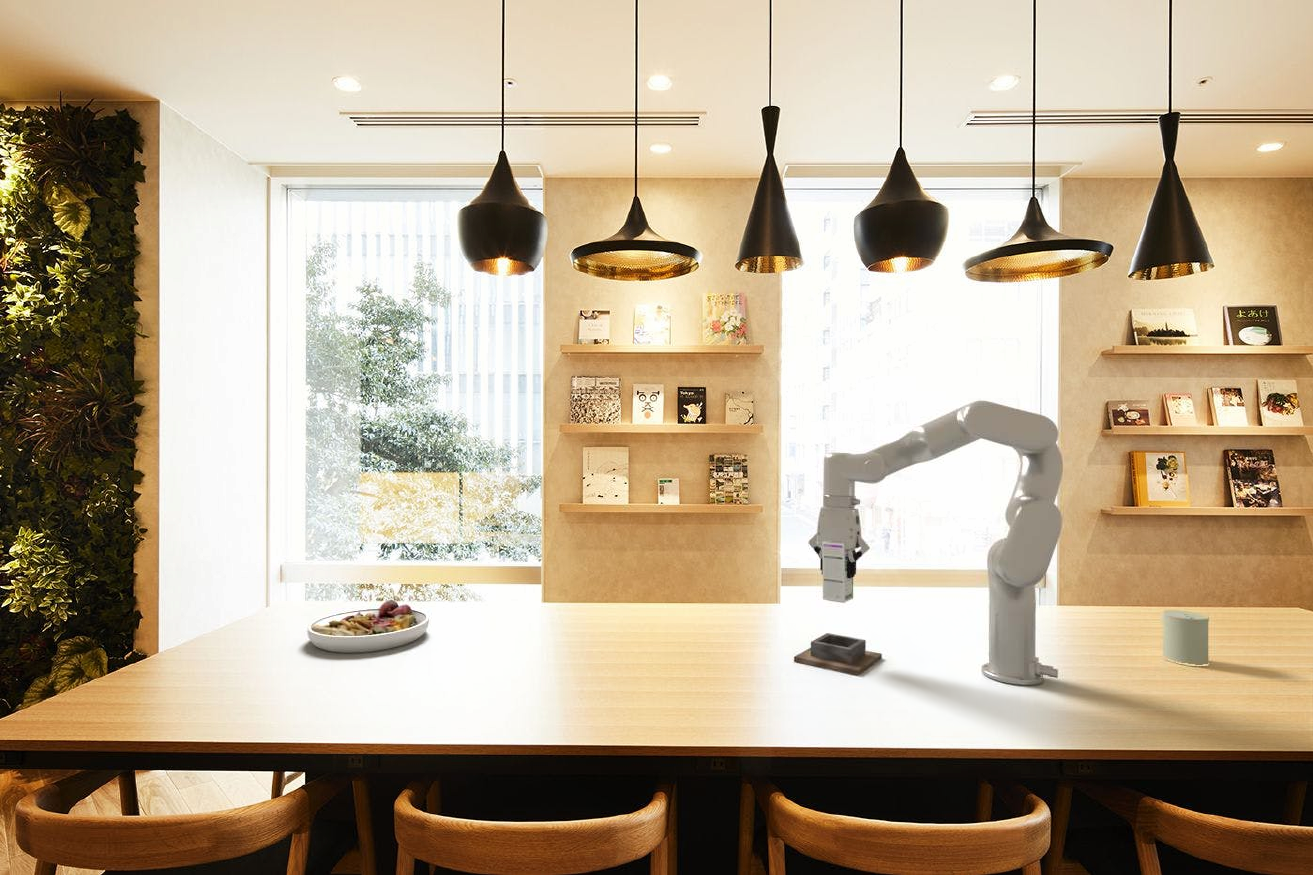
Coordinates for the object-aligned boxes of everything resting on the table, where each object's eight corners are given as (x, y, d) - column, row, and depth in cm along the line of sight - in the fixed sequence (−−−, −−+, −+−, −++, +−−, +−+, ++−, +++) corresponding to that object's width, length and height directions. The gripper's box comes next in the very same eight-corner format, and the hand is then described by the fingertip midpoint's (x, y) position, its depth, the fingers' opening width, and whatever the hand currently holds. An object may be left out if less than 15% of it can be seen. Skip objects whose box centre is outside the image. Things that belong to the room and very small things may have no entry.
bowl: (403, 657, 165) (404, 625, 165) (283, 656, 166) (283, 624, 166) (443, 625, 195) (444, 598, 195) (341, 624, 196) (341, 597, 196)
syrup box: (844, 603, 161) (845, 543, 162) (821, 599, 165) (822, 540, 165) (853, 599, 166) (854, 540, 166) (830, 595, 170) (831, 538, 170)
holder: (881, 658, 167) (881, 639, 167) (858, 675, 154) (858, 655, 154) (821, 646, 176) (821, 628, 176) (794, 661, 164) (794, 642, 164)
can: (1166, 663, 165) (1166, 614, 165) (1158, 653, 173) (1158, 606, 173) (1213, 669, 161) (1213, 619, 161) (1203, 658, 169) (1203, 611, 169)
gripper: (878, 504, 163) (877, 578, 163) (812, 499, 174) (811, 569, 174) (867, 505, 157) (866, 582, 157) (799, 501, 168) (799, 573, 168)
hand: (837, 575), depth 166 cm, fingers closed on syrup box, 5 cm apart
